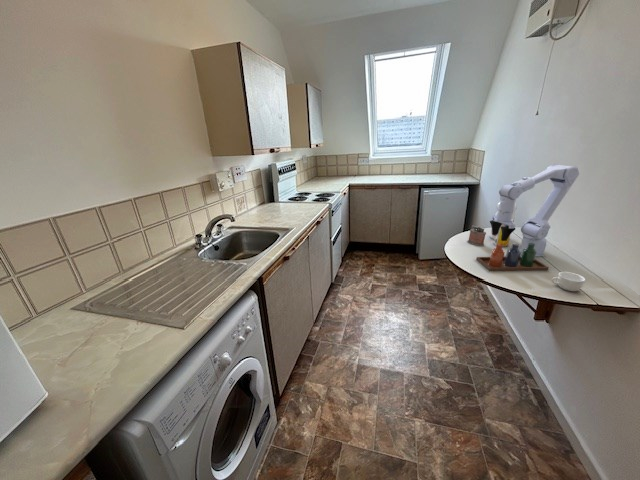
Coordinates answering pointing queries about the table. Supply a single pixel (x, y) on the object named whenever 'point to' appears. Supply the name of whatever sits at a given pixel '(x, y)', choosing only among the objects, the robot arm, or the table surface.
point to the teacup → (569, 281)
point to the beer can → (498, 237)
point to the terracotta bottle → (497, 256)
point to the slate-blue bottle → (512, 256)
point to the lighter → (477, 236)
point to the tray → (536, 267)
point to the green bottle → (528, 256)
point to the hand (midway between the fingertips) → (499, 237)
